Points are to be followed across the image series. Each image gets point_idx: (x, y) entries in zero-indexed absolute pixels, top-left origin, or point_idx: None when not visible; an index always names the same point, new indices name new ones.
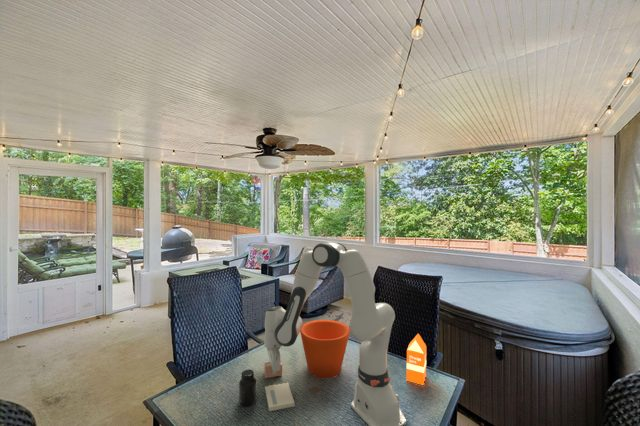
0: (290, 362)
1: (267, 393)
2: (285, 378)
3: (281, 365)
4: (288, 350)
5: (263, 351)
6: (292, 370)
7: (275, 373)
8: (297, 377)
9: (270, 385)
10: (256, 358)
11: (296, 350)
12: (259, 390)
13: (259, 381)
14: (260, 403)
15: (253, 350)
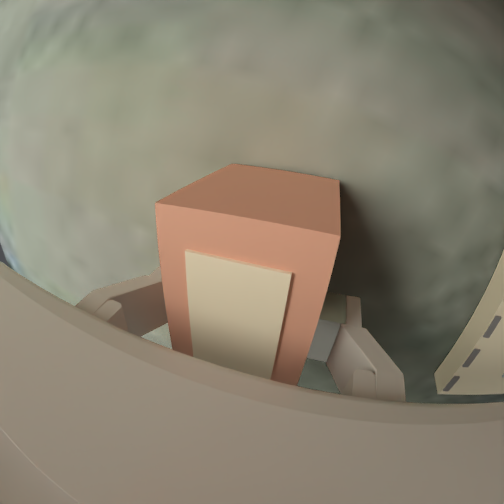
0: (115, 38)
1: (502, 390)
2: (411, 167)
3: (334, 249)
4: (10, 71)
5: (11, 224)
6: (271, 26)
7: (357, 303)
8: (443, 37)
9: (464, 367)
10: (56, 282)
11: (24, 19)
12: (414, 395)
13: (320, 376)
14: (497, 399)
15: (15, 265)
